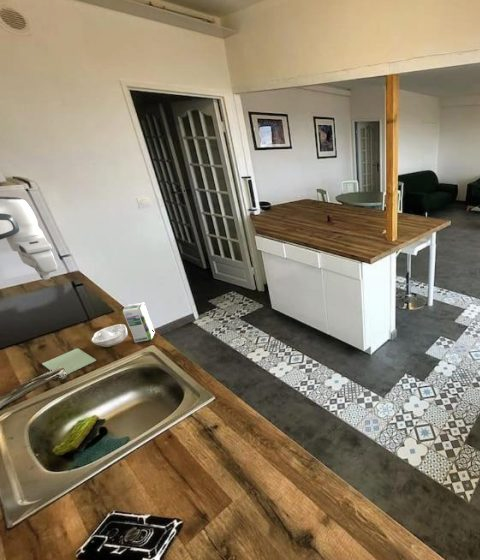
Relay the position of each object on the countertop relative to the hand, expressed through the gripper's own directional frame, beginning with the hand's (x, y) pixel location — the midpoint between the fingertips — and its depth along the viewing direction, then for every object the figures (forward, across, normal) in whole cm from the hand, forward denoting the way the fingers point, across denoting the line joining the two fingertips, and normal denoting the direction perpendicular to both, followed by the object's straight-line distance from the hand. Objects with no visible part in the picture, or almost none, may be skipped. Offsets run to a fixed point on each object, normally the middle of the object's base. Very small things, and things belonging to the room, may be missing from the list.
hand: (46, 278), depth 115 cm
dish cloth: (+25, +20, -8) cm, 33 cm away
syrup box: (+25, +27, +13) cm, 39 cm away
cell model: (+25, +21, +5) cm, 33 cm away
